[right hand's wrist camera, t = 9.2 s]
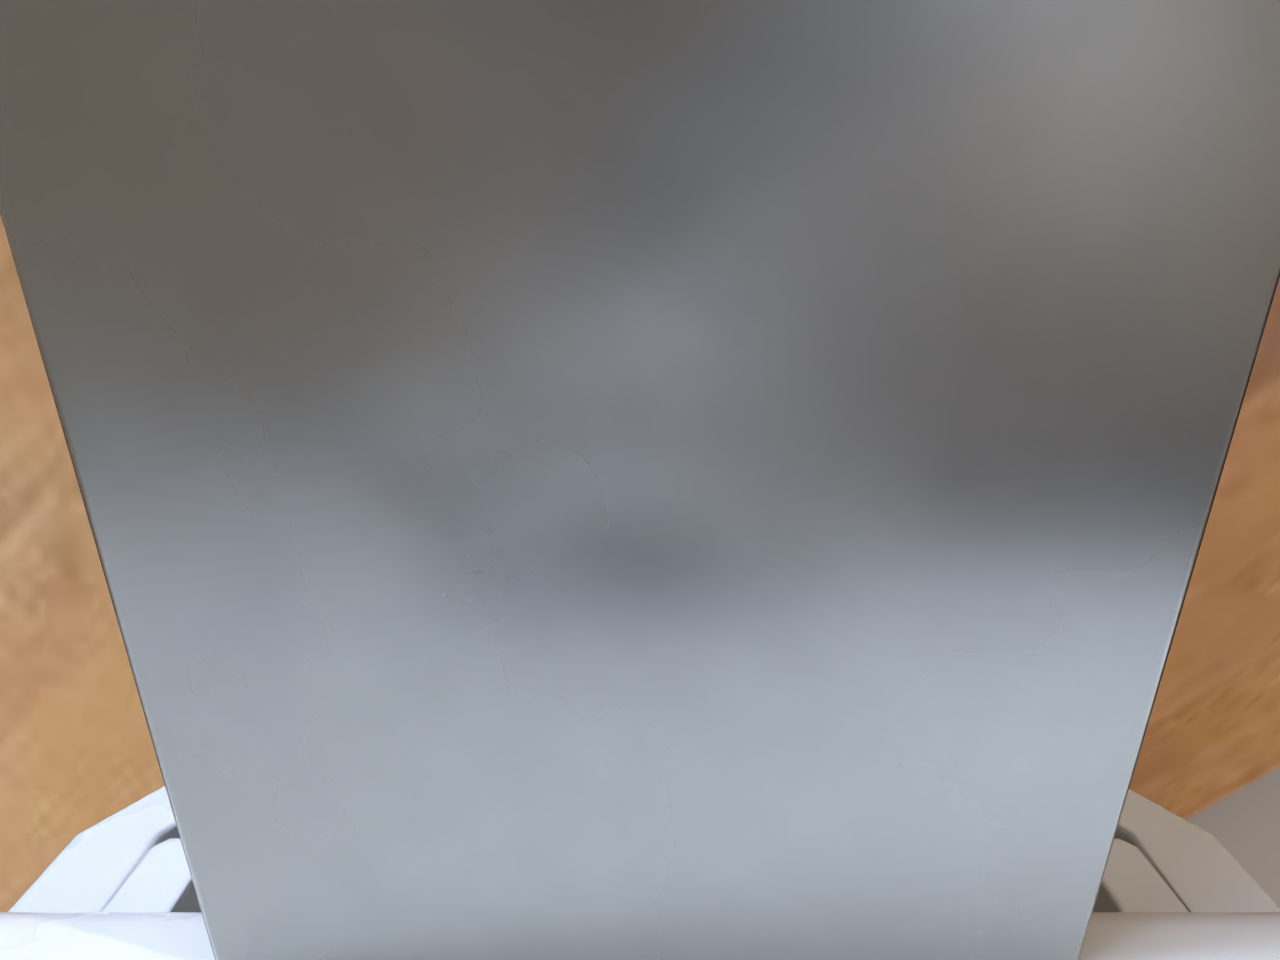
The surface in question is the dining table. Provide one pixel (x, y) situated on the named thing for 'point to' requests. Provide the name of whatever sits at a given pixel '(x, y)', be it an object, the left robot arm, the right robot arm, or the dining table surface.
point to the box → (645, 446)
